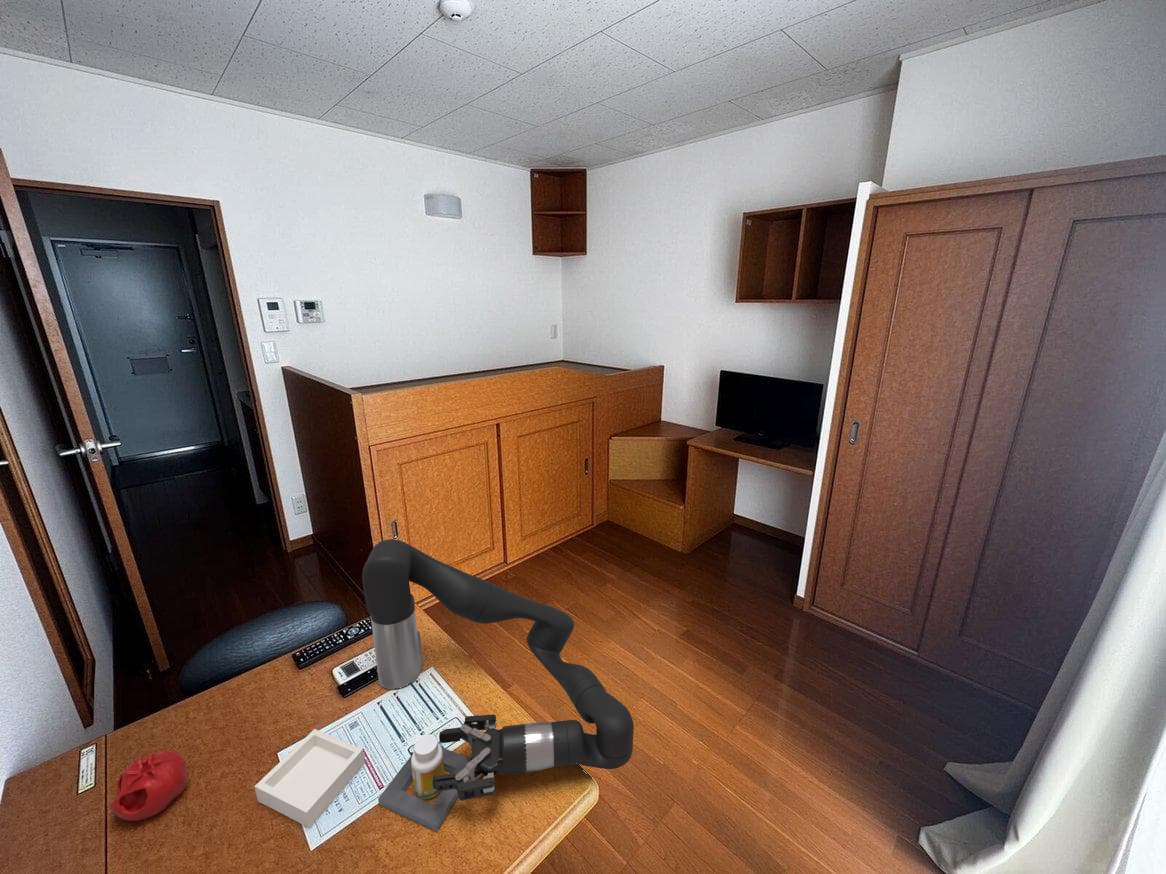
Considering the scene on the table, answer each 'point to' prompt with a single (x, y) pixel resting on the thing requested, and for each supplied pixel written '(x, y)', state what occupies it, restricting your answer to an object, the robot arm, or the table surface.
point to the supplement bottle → (426, 765)
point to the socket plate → (420, 808)
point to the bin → (310, 777)
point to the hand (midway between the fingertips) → (436, 758)
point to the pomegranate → (149, 785)
